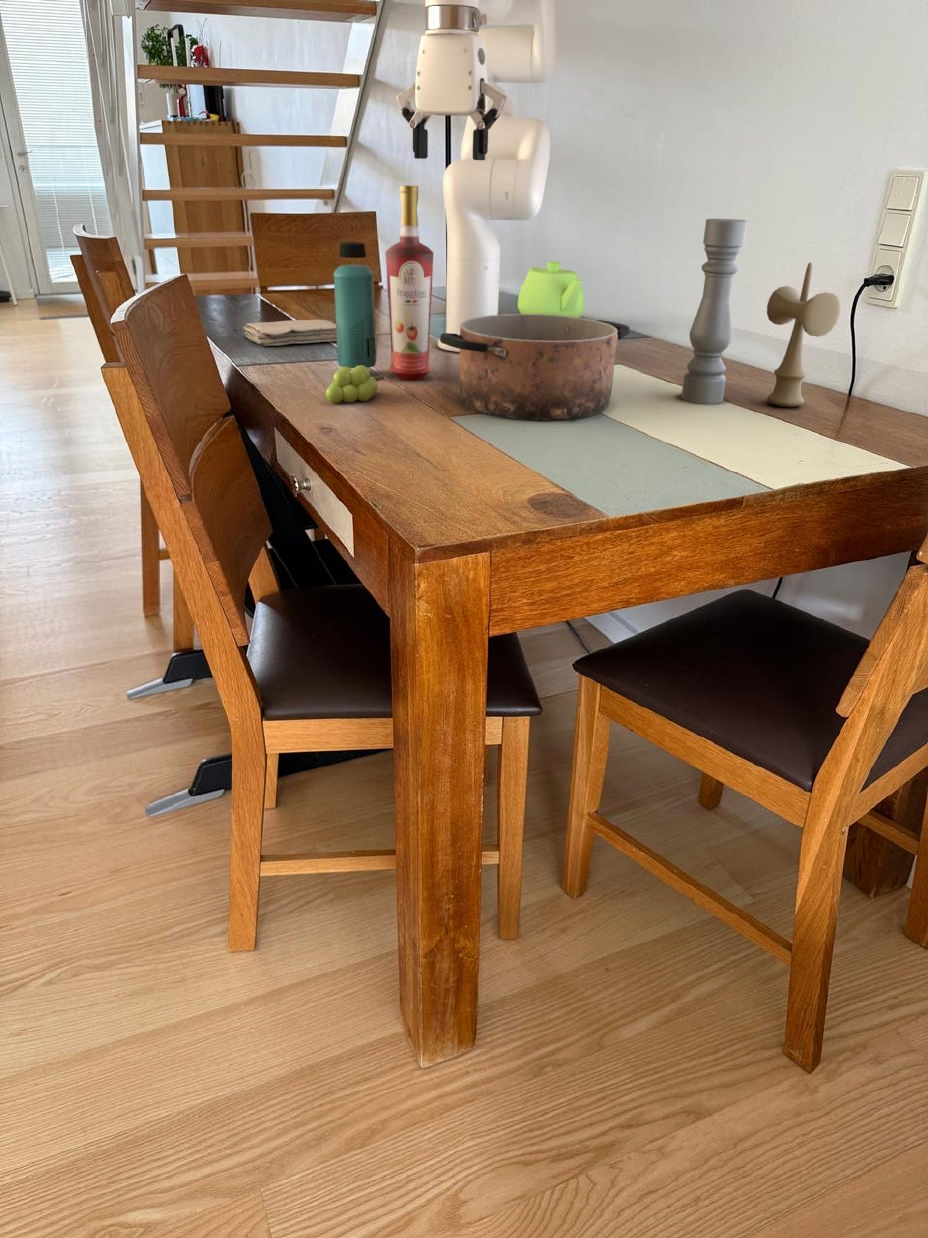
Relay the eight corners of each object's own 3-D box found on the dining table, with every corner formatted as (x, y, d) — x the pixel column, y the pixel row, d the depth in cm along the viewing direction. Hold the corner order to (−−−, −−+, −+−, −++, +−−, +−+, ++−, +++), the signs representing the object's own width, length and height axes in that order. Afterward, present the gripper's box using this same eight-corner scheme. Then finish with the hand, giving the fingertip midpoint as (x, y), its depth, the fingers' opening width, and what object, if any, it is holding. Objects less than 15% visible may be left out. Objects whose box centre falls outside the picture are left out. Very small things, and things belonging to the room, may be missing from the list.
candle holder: (724, 396, 141) (751, 219, 130) (720, 405, 136) (748, 222, 125) (683, 392, 143) (706, 217, 132) (678, 401, 138) (702, 220, 127)
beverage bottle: (370, 379, 146) (367, 244, 137) (331, 376, 148) (325, 242, 138) (382, 370, 152) (379, 240, 143) (343, 368, 153) (338, 239, 144)
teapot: (602, 330, 191) (607, 266, 185) (545, 334, 186) (550, 268, 180) (553, 315, 207) (557, 256, 201) (500, 318, 202) (503, 257, 196)
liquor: (389, 382, 145) (386, 186, 132) (385, 372, 151) (382, 184, 138) (435, 381, 146) (436, 187, 133) (429, 371, 152) (430, 185, 139)
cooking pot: (569, 376, 151) (574, 308, 146) (661, 407, 134) (671, 331, 129) (408, 395, 137) (408, 321, 132) (489, 432, 120) (492, 348, 115)
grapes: (367, 386, 142) (366, 357, 140) (401, 394, 138) (401, 363, 136) (311, 400, 133) (310, 369, 131) (346, 408, 130) (345, 376, 128)
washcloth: (241, 337, 176) (239, 320, 175) (329, 330, 184) (328, 314, 182) (260, 348, 167) (259, 330, 165) (352, 341, 175) (351, 324, 173)
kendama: (788, 414, 132) (815, 266, 123) (748, 398, 140) (771, 258, 131) (822, 411, 134) (851, 265, 125) (780, 396, 142) (805, 258, 133)
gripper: (517, 26, 130) (512, 160, 138) (410, 29, 137) (410, 158, 144) (497, 19, 124) (492, 160, 132) (385, 22, 131) (387, 157, 138)
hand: (449, 159), depth 138 cm, fingers open, 9 cm apart
